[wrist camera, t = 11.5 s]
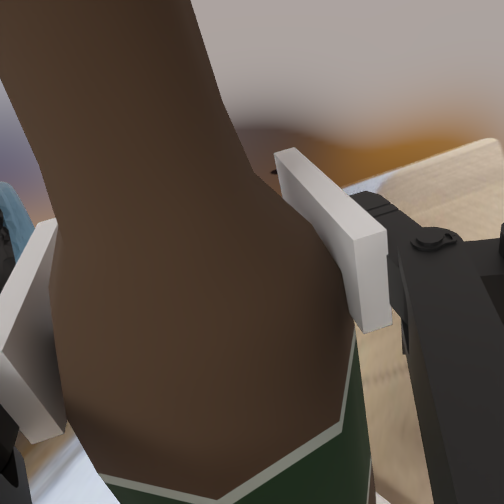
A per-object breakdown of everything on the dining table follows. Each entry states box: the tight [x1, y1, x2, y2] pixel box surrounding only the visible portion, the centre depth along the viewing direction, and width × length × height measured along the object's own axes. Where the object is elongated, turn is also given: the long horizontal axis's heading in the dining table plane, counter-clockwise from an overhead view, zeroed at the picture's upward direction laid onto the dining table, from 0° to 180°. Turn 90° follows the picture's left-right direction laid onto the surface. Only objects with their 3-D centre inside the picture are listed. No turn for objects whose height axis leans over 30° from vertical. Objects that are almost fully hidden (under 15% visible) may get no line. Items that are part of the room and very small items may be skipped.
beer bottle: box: [0, 0, 376, 504], centre depth 11 cm, size 8×8×24 cm
